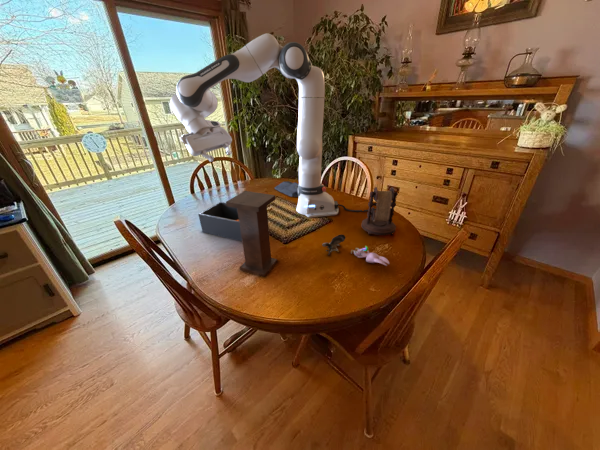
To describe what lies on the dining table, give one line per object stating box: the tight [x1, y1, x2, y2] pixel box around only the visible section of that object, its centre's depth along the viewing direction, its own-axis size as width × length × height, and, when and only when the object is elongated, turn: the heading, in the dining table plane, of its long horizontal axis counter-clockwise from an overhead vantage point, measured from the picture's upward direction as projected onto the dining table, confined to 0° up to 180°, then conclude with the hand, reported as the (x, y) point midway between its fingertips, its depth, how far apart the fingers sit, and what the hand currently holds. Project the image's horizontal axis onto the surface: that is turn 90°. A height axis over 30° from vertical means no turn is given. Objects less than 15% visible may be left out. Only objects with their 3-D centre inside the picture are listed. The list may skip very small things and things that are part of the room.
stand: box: [225, 190, 278, 278], centre depth 79 cm, size 11×10×26 cm
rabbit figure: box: [350, 245, 390, 267], centre depth 85 cm, size 6×6×15 cm
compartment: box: [197, 201, 242, 242], centre depth 106 cm, size 23×15×9 cm, turn 67°
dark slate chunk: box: [274, 180, 299, 198], centre depth 151 cm, size 15×22×5 cm
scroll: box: [360, 186, 399, 236], centre depth 102 cm, size 15×15×20 cm
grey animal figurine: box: [321, 233, 347, 256], centre depth 91 cm, size 8×7×9 cm
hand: (221, 157), depth 100 cm, fingers open, 8 cm apart
